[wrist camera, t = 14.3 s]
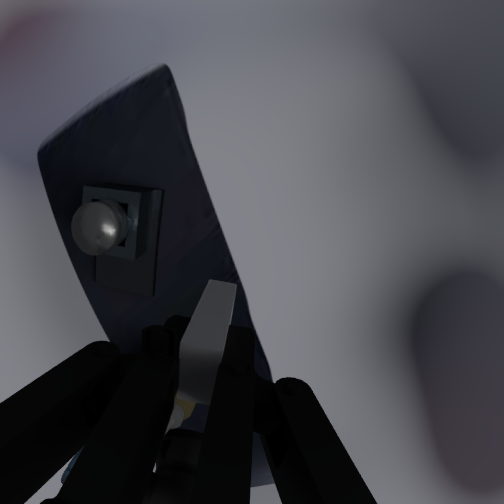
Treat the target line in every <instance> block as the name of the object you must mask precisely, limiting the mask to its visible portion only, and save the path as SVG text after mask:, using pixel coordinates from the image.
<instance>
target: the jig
mask: <svg viewBox="0 0 504 504" xmlns="http://www.w3.org/2000/svg"><path fill="white" fill-rule="evenodd" d="M164 191H165V190H161V189H154V188H146V187H138V186H130V185H122V184H114V183H105V182H104V183H101V184H94V185H86V186H83V198H82V205H84V204H87V203H91V202H96V201H100V200H113V201H115V202H117V203H118V204H120V203H127V204H128V214H127V218H128V231H127V234H126V237H125V238H124V240H123V241H122V242H121V243H120V244H118V245H117V246H115V247H113V248H111V249H110V250H108V251H106V252H104V253H103V254H100V255H96V284H98V285H102V286H106V287H110V288H114V289H118V290H122V291H126V292H131V293H135V294H139V295H144V296H148V297H153V296H154V295H155V282H156V268H157V256H158V244H159V234H160V224H161V216H162V207H163V199H164Z"/></svg>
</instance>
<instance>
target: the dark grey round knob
mask: <svg viewBox="0 0 504 504" xmlns="http://www.w3.org/2000/svg"><path fill="white" fill-rule="evenodd" d="M127 214H128V204H127V203H120V204H118V203H117V202H115V201H113V200H100V201H96V202H91V203H87V204H84V205H82V206H81V207H79V208H78V209H77V211H76V212H75V214H74V216H73V219H72V224H71V230H72V235H73V238H74V241H75V243H76V244H77V246H78V247H79V248H80V249H81V250H82V251H83V252H85V253H87V254H89V255H100V254H103V253H104V252H106V251H108V250H110V249H111V248H113V247H115V246H117V245H118V244H120V243H121V242H122V241H123V240H124V238H125V237H126V234H127V231H128V218H127Z"/></svg>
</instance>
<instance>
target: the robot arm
mask: <svg viewBox="0 0 504 504" xmlns="http://www.w3.org/2000/svg"><path fill="white" fill-rule="evenodd" d="M236 288H237V284H233V283H227V282H222V281H216V280H211V279H210V280H209V282H208V284H207V286H206V288H205V290H204V292H203V295H202V297H201V299H200V301H199V303H198V305H197V307H196V310H195V312H194V314H193V316H192V318H188V317H183V316H178V315H174V316H172V317H170V318H168V319H167V321H166V322H165V324H164V326H161V325H153V326H148V327H145V328H144V329H143V330H142V350H141V352H140V353H139V354H120V350H119V348H118V346H117V345H115V344H114V343H111V342H108V341H95V342H93V343H90V344H88V345H87V346H85V347H84V348H83V349H81V350H79V351H78V352H76V353H75V354H73V355H72V356H70V357H69V358H67V359H66V360H64V361H63V362H61V363H60V364H58V365H57V366H55V367H54V368H52V369H51V370H49V371H48V372H46V373H45V374H43V375H42V376H40V377H39V378H37V379H36V380H34V381H33V382H31V383H30V384H28V385H27V386H25V387H24V388H22V389H21V390H19V391H18V392H16V393H15V394H14V395H12V396H10V397H9V398H7V399H6V400H4V401H3V402H1V403H0V504H24V503H25V502H26V501H27V500H28V499H29V498H30V497H32V496H33V495H34V494H35V493H36V492H37V491H38V490H39V489H40V488H41V487H42V486H43V485H44V484H45V483H46V482H47V481H48V480H49V479H50V478H51V477H53V476H54V475H55V474H56V473H57V472H58V471H59V470H60V469H61V468H62V467H63V466H64V465H65V464H66V463H67V462H68V461H69V460H70V459H71V458H72V457H73V456H74V455H75V454H76V453H77V452H78V453H77V454H76V455H75V456H74V457H73V459H72V460H71V462H70V463H69V465H68V467H67V468H66V470H65V471H64V473H63V475H62V478H61V483H62V484H63V485H62V487H61V489H60V491H59V493H58V494H57V496H56V497H54V498H51V499H45V500H44V501H42V502H41V503H40V504H250V487H251V466H252V444H253V431H254V432H257V433H260V439H261V442H262V445H263V448H264V451H265V454H266V457H267V460H268V464H269V467H270V470H271V473H272V476H273V479H274V482H275V485H276V487H277V490H278V493H279V496H280V499H281V502H282V504H377V502H376V501H375V499H374V497H373V496H372V494H371V492H370V490H369V489H368V487H367V485H366V484H365V482H364V480H363V479H362V477H361V475H360V473H359V472H358V470H357V468H356V466H355V465H354V463H353V461H352V460H351V458H350V456H349V454H348V453H347V451H346V449H345V447H344V446H343V444H342V442H341V440H340V439H339V437H338V435H337V433H336V432H335V430H334V428H333V426H332V425H331V423H330V421H329V419H328V418H327V416H326V414H325V412H324V410H323V409H322V407H321V405H320V404H319V402H318V400H317V398H316V396H315V395H314V393H313V391H312V389H311V388H310V387H309V385H308V384H307V383H305V382H304V381H302V380H300V379H296V378H291V377H286V378H281V379H279V380H277V381H276V383H272V382H270V381H267V380H265V379H263V378H261V377H260V376H259V375H258V374H257V373H256V372H255V368H254V347H255V334H254V332H253V331H252V329H251V328H246V327H241V326H235V325H230V324H231V318H232V312H233V306H234V300H235V294H236ZM176 393H177V399H181V400H186V401H190V402H195V403H200V404H205V405H210V407H209V412H208V417H207V421H206V426H205V431H204V435H203V434H200V433H197V432H193V431H188V430H170V431H168V432H167V433H166V430H167V427H168V424H169V421H170V418H171V415H172V412H173V409H174V398H175V396H176ZM165 433H166V434H165ZM83 446H84V447H83ZM155 463H156V471H155V473H154V472H153V469H154V466H155Z"/></svg>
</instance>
